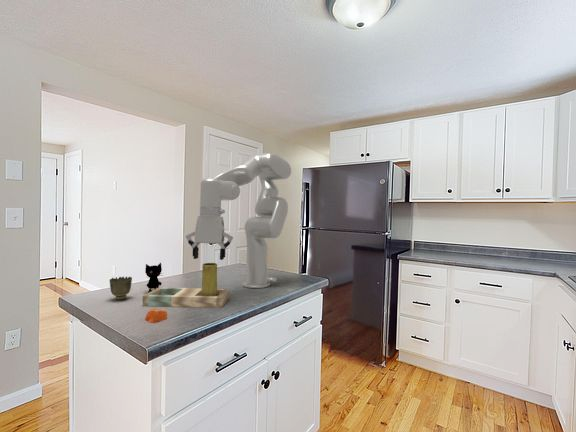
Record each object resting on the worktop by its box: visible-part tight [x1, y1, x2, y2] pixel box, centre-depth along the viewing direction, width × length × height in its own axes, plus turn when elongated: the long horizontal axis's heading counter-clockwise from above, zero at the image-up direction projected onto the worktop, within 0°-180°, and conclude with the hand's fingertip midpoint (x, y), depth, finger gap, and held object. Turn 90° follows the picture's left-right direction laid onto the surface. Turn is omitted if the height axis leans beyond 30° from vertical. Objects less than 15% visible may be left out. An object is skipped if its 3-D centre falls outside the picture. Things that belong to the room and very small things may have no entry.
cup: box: [109, 276, 133, 301], centre depth 110 cm, size 8×7×8 cm
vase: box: [201, 262, 218, 296], centre depth 109 cm, size 6×6×14 cm
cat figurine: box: [144, 262, 165, 293], centre depth 121 cm, size 7×7×12 cm
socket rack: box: [142, 286, 230, 309], centre depth 109 cm, size 28×12×4 cm, turn 89°
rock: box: [144, 308, 168, 324], centre depth 91 cm, size 12×12×4 cm
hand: (208, 258), depth 108 cm, fingers open, 9 cm apart
